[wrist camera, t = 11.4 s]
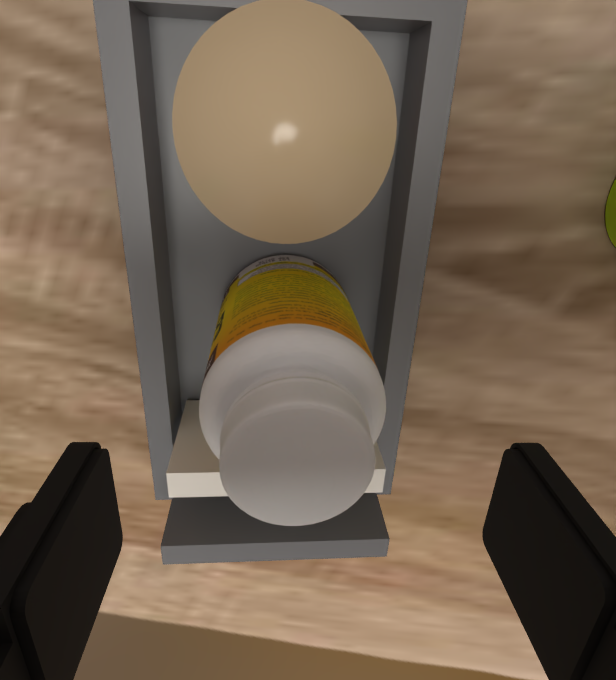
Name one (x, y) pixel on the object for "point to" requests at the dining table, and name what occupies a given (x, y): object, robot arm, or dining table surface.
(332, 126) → the beige round container
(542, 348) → the dining table surface
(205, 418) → the supplement bottle
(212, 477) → the pusher paddle
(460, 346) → the dining table surface
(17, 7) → the dining table surface
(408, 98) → the pusher lane
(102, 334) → the dining table surface
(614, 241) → the soap dispenser
